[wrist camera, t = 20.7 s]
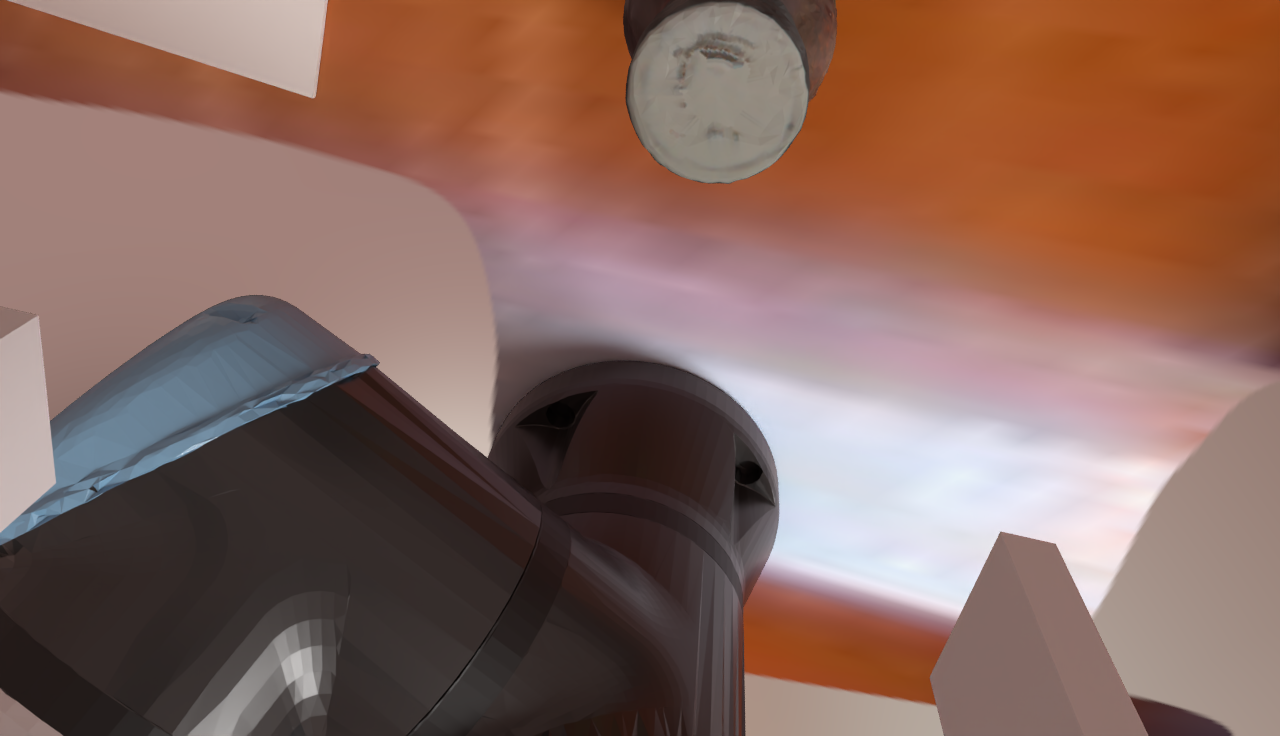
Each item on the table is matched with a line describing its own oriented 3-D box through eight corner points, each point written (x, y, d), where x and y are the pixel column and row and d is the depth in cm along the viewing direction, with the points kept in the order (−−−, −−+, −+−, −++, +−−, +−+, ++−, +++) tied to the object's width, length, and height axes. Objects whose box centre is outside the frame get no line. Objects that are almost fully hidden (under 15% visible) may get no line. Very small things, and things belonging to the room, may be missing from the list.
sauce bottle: (731, -152, 36) (716, -167, 18) (853, -39, 37) (948, 48, 19) (625, -7, 38) (523, 102, 21) (742, 94, 40) (738, 273, 22)
